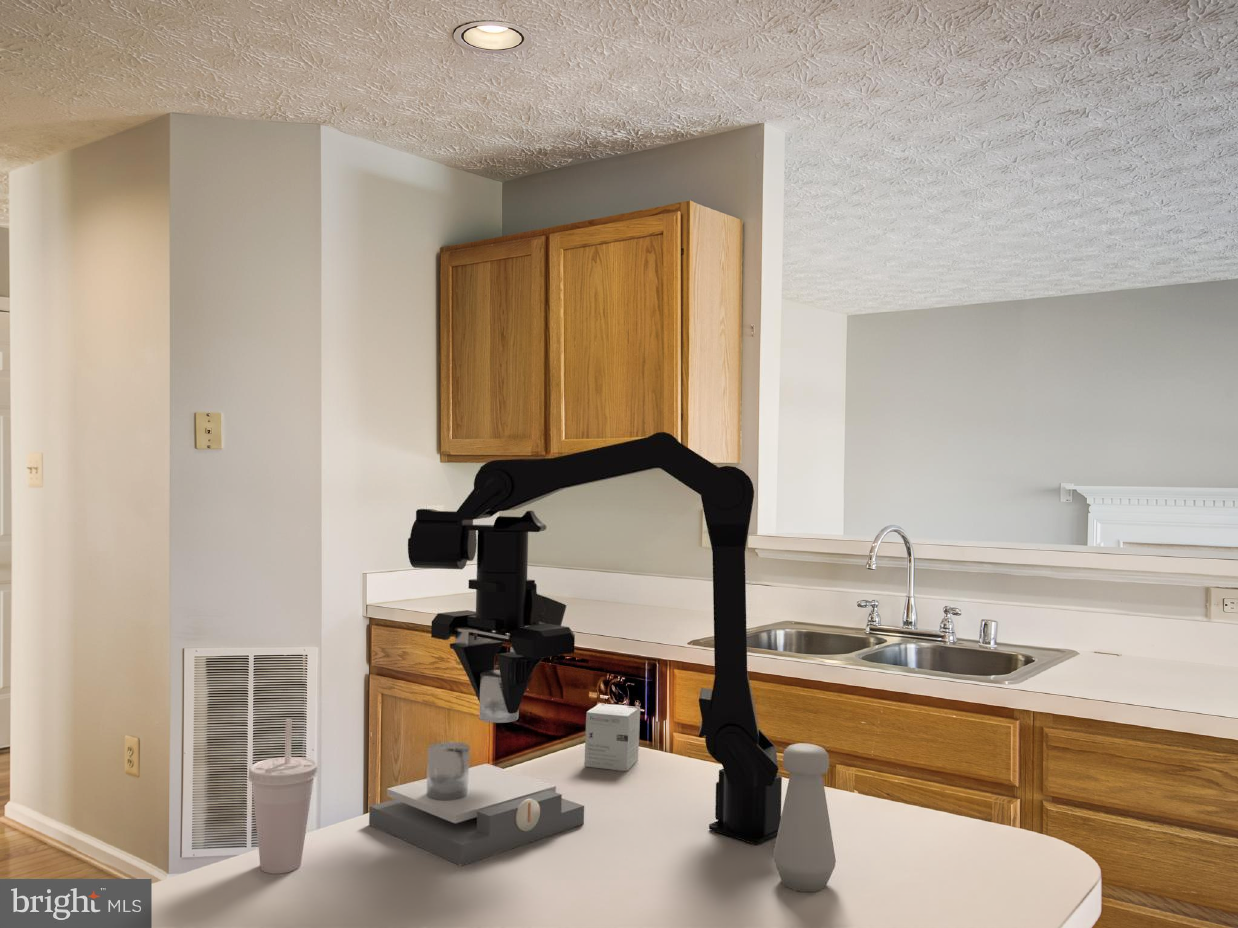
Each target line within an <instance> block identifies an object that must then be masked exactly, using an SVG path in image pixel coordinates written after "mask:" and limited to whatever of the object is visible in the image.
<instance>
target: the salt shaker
mask: <svg viewBox="0 0 1238 928" xmlns="http://www.w3.org/2000/svg"><path fill="white" fill-rule="evenodd" d="M782 754H783V756H782V764H783V769H784V770H785V771H786V772H788V773H790V774H789V777H788V783H787V788H786V793H785V797H784V801H783V806H782V810H781V820H780V825H779V830H778V834H777V836H776V840H775V845H774V850H773V861H774V864H775V868H776V870H777V873H778V876H779V878H780V881H781V884H782V885H783V886H784V887H787V888H789V889H791V890H794V891H795V892H801V893H802V892H805V893H818V892H819V891H821V890H823V889H824V888H827V885H828V883H829V881H830V879H831V876H832V874H833V871H834V870H835V867H836V862H837V861H836V853H835V848H834V841H833V835H832V828H831V822H830V821H831V820H830V815H829V809H828V803H827V798H826V796H827V795H826V791H825V782H824V778H823V775H825V774H826V773H827V772H828V771H829V768H830V757H829V753H828V752H827V751H826V750H825V748H824V747H822V746H819V745H817V744H812V743H806V742H805V743H804V742H802V743H799V742H798V743H794V744H793V743H792V744H790V745H788V746H787V747H786V748H785V749H784V750H783V753H782Z"/></svg>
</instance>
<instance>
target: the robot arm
mask: <svg viewBox="0 0 1238 928" xmlns="http://www.w3.org/2000/svg"><path fill="white" fill-rule="evenodd" d="M657 469H659V470H662V471H663V472H664V473H665V472H666V473H667V474H668V475H670V476H671V477H673V478H674V479H675V480H677V481H679V482H680V483H681V484H684V485H685V487H687V488H689V489H691V490H692V491H694V492H696V493H697V494H698V495H700V498H701V504H702V509H703V513H704V519H705V520H704V521H705V524H706V528H707V534H708V539H709V542H710V546H711V547H710V548H711V551H712V552H711V554H712V590H713V591H712V592H713V593H712V596H713V599H712V601H713V603H712V604H713V643H714V645H713V647H714V651H713V653H714V655H713V656H714V659H713V660H714V677H713V679H714V680H713V686H712V689H710V688H705V687H701V688H700V690H699V692H700V693H699V695H698V696H699V697H698V706H699V710H700V716H701V721H700V727H699V731H698V732H699V733H698V737H699V738H701V739H702V738H703V737H705V739H704V743H705V746H706V747H705V749H706V750H707V753H708V754H709V755H710V756H711V757H712V759H714V760H715V761H716V762H718V763H720V764H721V766H722V769H719V770H718V781H717V782H716V783H715V808H714V809H715V813H714V817H715V820H716V821H714V822H711V823H709V824H708V829H709V830H710V831H713V832H716V833H719V834H723V835H726V836H729V837H732V838H735V839H738V840H742V841H745V842H748V843H750V844H757V845H758V844H761V843H764V842H765V841H767V840H770V839H772V838H774V837H777V834H778V830H779V825H780V820H781V815H782V785H783V784H782V783H783V777H782V775H778V773H779V760H778V754H777V747H776V744H774V743H773V742H772V741H771V740H770V739H769V738H768V736H766V734H764V732H763V731H761V730H760V729H759V722H758V721H759V720H758V716H757V712H756V711H757V710H756V706H755V700H754V695H753V691H752V687H751V683H750V682H751V681H750V678H749V674H748V648H747V647H748V646H747V645H748V640H747V638H748V637H747V632H748V631H747V596H746V595H747V594H746V592H747V590H746V588H747V587H746V584H747V583H746V580H747V579H746V549H747V541H748V535H749V529H750V524H751V516H752V511H753V506H754V505H753V504H754V498H755V489H754V484H753V482H752V479H751V477H750V476H749V475H748V474H747V473H746V472H745V471H744V470H742V469H741V468H739V467H736V466H733V465H731V466H730V465H724V466H719V467H718V466H717V465H716V464H714V463H712V462H711V461H710V460H708V459H706V458H705V457H703V456H701V454H699V453H697V452H696V451H694V450H692V449H690V447H687V446H686V445H685V444H683V443H682V442H680V441H679V439H678V438H677V437H675V436H674V435H673V434H671V433H668V432H665V431H658V432H655V433H653V434H651V435H649V436H646V437H642V438H637V439H632V440H627V441H624V442H620V443H615V444H610V445H605V446H601V447H596V448H593V449H592V448H591V449H588V450H583V451H577V452H575V453H570V454H565V455H561V456H556V457H549V458H547V457H546V458H513V459H511V458H510V459H495V460H491V461H488V462H486V463H483V464H482V465H481V466H480V468H479V469H478V471H477V473H476V474H475V477H474V480H473V488H472V490H471V491H470V493H469V494H468V495H467V497H466V498H465V500H463V502H462V503H461V505H460V506H459V507H458V509H457V510H456V511H455V510H453V511H452V510H449V511H448V510H437V509H433V508H432V509H431V508H418V509H416V510H415V520H414V522H413V524H412V527H411V529H410V534H409V535H410V536H409V537H408V538H407V554H408V556H407V557H408V560H409V563H410V565H411V567H413V569H439V570H442V569H443V570H463V569H465V567H466V565H467V563H468V561H469V562H472V561H474V559H475V556H476V578H473V579H468V589H469V590H476V591H475V593H476V595H475V611H473V610H467V609H465V610H457V611H447V612H439V613H437V614H436V615H435V617H434V618H433V619H432V620H431V627H430V628H431V631H430V632H431V633H430V634H431V635H430V638H432V639H433V638H434V639H438V640H442V641H449V640H450V639H451V638H452V636H454V641H455V642H452V643H449V648H450V649H451V650H453V651H454V653H455V654H456V657H457V659H458V661H459V662H460V664H461V666H462V668H463V669H464V672H465V674H466V677H467V678H468V680H469V683H470V684H471V687H472V690H473V692H474V693H475V696H476V698H477V700H478V702H479V704H480V673H482V672H484V671H490V670H495V669H494V668H495V659H496V657H497V664H498V670H500V675H501V681H502V687H503V692H504V698H505V703H506V707H507V710H508V713H510V714H512V713H516V712H517V711H518V709H520V706H521V703H522V700H523V699H524V695H525V692H526V690H527V687H528V684H529V681H530V678H531V676H532V674H533V672H534V670H535V668H536V666H537V665H538V664H539V663H541V661H542V660H544V658H549V657H554V656H555V657H557V656H561V655H568V654H573V653H575V643H576V642H575V641H576V640H575V636H576V634H575V633H574V631H572V629H571V628H570V627H569V626H564V625H562V623H563V619H564V616H565V613H566V609H567V605H566V604H565V603H562V602H561V601H557V600H555V599H554V598H553V599H552V598H550V597H548V596H544V595H542V594H539V593H538V592H537V583H536V580H535V579H528V569H529V568H528V557H529V533H539V532H540V533H541V532H544V531H546V529H547V525H546V524H545V523H544V522H542V521H541V520H540V519H539V518H538V516H537V515H536V513H535V511H534V510H527V511H526V512H525V513H524V514H522V516H506V515H505V516H503V515H499V516H497V517H496V519H495V520H494V523H493V524H474V520H481V519H488V518H492V517H493V516H495V515H496V514H498V513H499V512H506V511H515V510H519V509H521V508H524V507H526V506H529V505H530V504H533V503H536V502H537V501H538V502H539V501H541V500H543V499H545V498H548V496H552V495H554V494H555V493H558V492H560V491H563V490H565V489H566V490H567V489H570V488H574V487H579V486H585V485H587V484H593V483H597V482H603V481H606V480H611V479H616V478H620V477H624V476H625V477H626V476H630V475H635V474H638V473H643V472H647V471H652V470H657ZM476 553H477V554H476ZM504 643H508V644H511V646H510V647H509V652H501V653H498V652H499V651H500V649H501V648H502V647H503V644H504Z"/></svg>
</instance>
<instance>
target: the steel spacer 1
mask: <svg viewBox="0 0 1238 928" xmlns="http://www.w3.org/2000/svg"><path fill="white" fill-rule="evenodd" d="M470 751H471V750H470V746H469V744H467V743H464V742H460V741H439V742H435V743H431V744H430V745H428V748H427V767H426V769H427V770H426V779H427V796H428V797H429V798H431V799H434V800H440V801H452V800H458V799H462V798H464V797H466V796H467V795H468V778H469V768H470Z"/></svg>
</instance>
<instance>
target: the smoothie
mask: <svg viewBox="0 0 1238 928" xmlns="http://www.w3.org/2000/svg"><path fill="white" fill-rule="evenodd" d="M292 726H293V719H292V718H286V719H285V736H284V737H285V741H284V743H285V744H284V756H282V757H273V758H269V759H268V758H267V759H263V760H260V761H258V762H255V763H254V764H252V765H251V766H249V769H248V776H247V779H248V781H249V782H251V785H252V796H253V797H252V799H253V804H254V816H255V825H256V835H257V847H258V855H259V865H260V866H259V867H260V871H261V872H263V873H267V874H273V875H274V874H277V875H278V874H284V873H286V874H287V873H290V872H293V871H295V870H297V869H299V868H300V867H301V865H302V859H303V853H304V846H305V840H306V832H307V825H308V820H309V812H310V807H311V799H312V792H313V788H314V787H313V785H314V779H315V777H317V776H318V762H316V761H315V760H313V759H311V758H307V757H300V756H299V757H298V756H292V736H293V735H292V731H293V729H292V728H293V727H292Z"/></svg>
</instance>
